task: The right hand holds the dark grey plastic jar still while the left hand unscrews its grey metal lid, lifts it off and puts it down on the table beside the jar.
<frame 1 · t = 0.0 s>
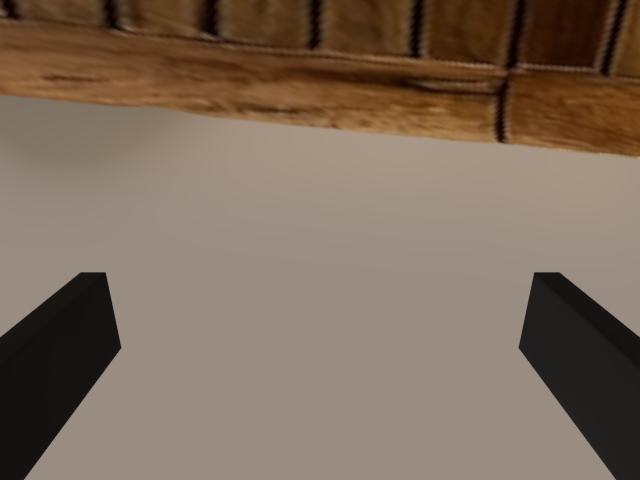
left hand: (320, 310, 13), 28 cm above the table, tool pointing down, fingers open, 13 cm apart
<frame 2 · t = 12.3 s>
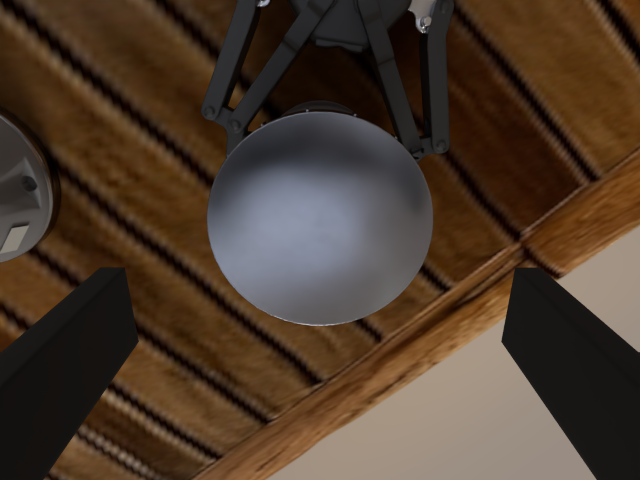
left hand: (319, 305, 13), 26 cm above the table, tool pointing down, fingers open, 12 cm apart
right hand: (312, 227, 33), fingers closed on jar, 10 cm apart
lid: (320, 226, 20), point 18 cm above the table, screwed on, not yet turned
jar: (320, 159, 37), on the table, touching right hand
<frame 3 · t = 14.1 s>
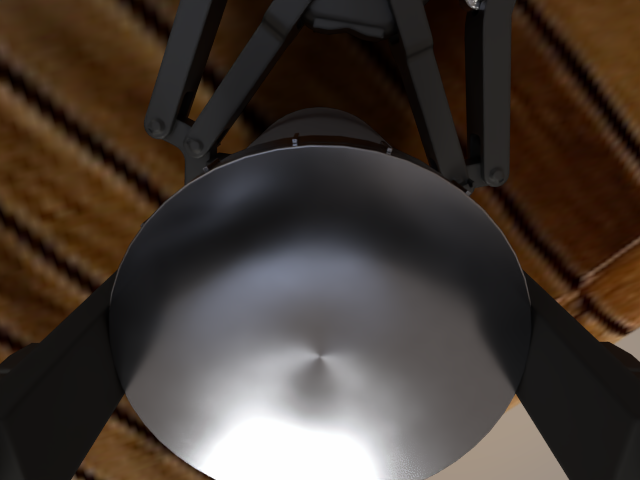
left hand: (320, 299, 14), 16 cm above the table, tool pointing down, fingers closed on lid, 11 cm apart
lid: (320, 348, 11), point 18 cm above the table, screwed on, not yet turned, touching left hand
jar: (319, 185, 28), on the table, touching right hand
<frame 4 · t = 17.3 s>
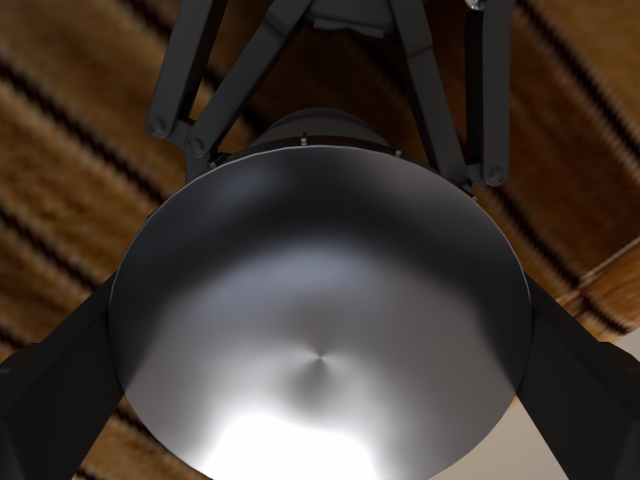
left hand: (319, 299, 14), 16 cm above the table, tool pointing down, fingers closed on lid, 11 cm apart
lid: (320, 349, 11), point 18 cm above the table, turned 88° so far, risen 0.1 cm, still on its thread, touching left hand
jar: (320, 184, 28), on the table, touching right hand
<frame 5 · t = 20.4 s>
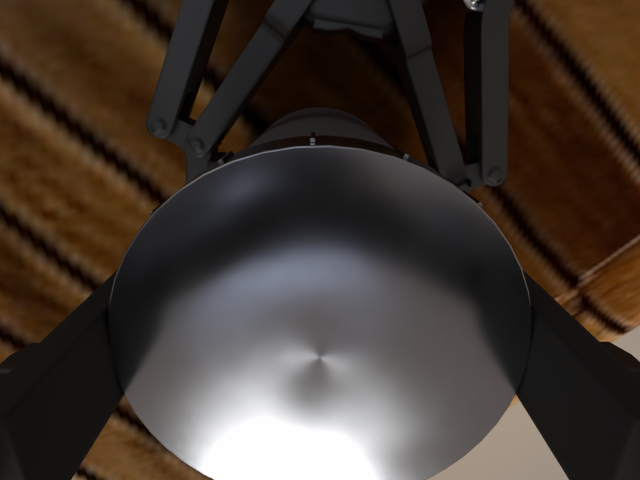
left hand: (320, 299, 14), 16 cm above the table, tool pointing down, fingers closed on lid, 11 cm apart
lid: (319, 349, 11), point 19 cm above the table, turned 176° so far, risen 0.2 cm, still on its thread, touching left hand
jar: (319, 184, 28), on the table, touching right hand
when the left hand's fingers open (0 cm above the table, at t = 29.6 s): lid drops 2 cm, point 1 cm above the table.
when the right hand's fingers open (7 cm above the table, at t = 30.6 s): jar stays where it is, on the table.
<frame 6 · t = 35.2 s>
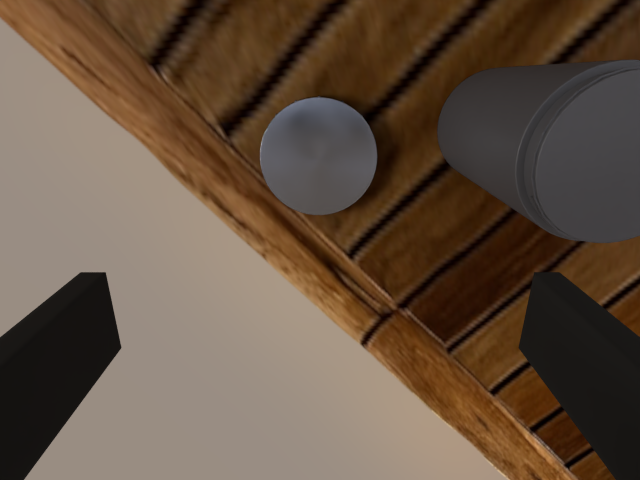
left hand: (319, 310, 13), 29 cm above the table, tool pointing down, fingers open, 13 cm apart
lid: (318, 158, 39), point 1 cm above the table, off its thread
jar: (491, 126, 39), on the table
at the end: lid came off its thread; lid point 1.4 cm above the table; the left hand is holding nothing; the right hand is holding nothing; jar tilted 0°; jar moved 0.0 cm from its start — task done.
